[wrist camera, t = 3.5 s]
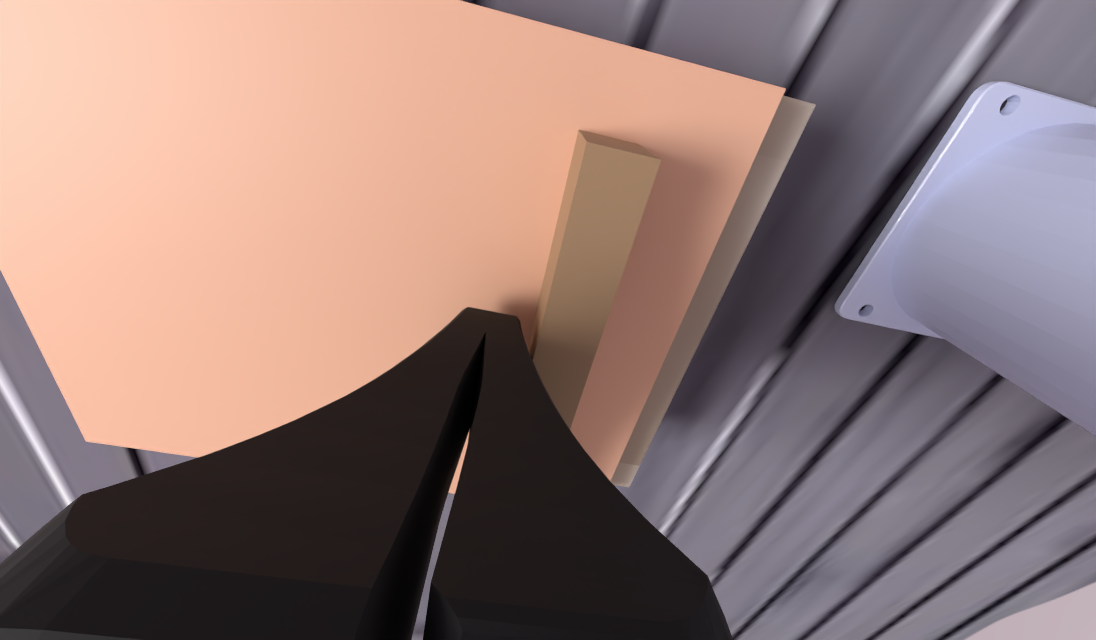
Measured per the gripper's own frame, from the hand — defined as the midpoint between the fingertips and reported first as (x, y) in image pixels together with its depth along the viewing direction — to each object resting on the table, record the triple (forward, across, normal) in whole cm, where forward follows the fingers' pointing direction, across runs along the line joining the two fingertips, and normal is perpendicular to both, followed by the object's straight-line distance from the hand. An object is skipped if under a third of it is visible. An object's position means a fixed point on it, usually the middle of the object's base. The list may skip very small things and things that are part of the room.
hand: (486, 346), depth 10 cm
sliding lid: (+2, +3, 0) cm, 4 cm away
